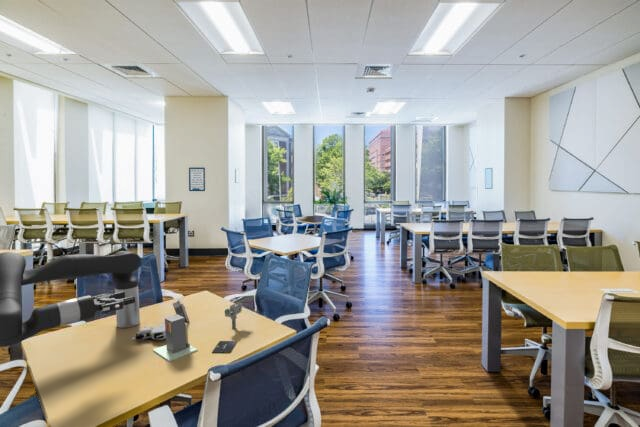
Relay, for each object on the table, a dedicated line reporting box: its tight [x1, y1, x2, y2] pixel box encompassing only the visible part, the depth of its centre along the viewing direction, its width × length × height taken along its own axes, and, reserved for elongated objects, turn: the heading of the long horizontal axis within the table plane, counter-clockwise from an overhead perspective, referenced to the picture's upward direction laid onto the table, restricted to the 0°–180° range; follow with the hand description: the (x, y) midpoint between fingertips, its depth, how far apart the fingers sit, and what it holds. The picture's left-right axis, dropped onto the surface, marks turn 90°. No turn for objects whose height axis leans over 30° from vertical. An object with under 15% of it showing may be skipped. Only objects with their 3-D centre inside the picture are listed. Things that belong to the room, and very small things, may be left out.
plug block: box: [164, 314, 187, 353], centre depth 132 cm, size 6×5×12 cm
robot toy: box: [130, 322, 166, 341], centre depth 144 cm, size 12×4×15 cm
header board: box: [152, 322, 199, 362], centre depth 131 cm, size 13×11×10 cm
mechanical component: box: [224, 302, 243, 330], centre depth 152 cm, size 3×10×10 cm, turn 158°
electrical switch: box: [172, 298, 190, 323], centre depth 163 cm, size 9×5×9 cm, turn 30°
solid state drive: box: [211, 340, 238, 354], centre depth 134 cm, size 7×10×1 cm
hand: (129, 296), depth 123 cm, fingers open, 8 cm apart
